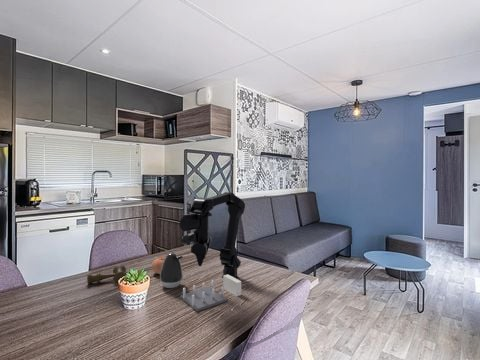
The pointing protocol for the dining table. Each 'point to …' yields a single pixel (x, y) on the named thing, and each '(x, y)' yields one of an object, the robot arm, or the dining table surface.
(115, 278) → the kendama
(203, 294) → the rack
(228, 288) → the tile
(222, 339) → the dining table surface
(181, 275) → the pump dispenser
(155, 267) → the tomato
